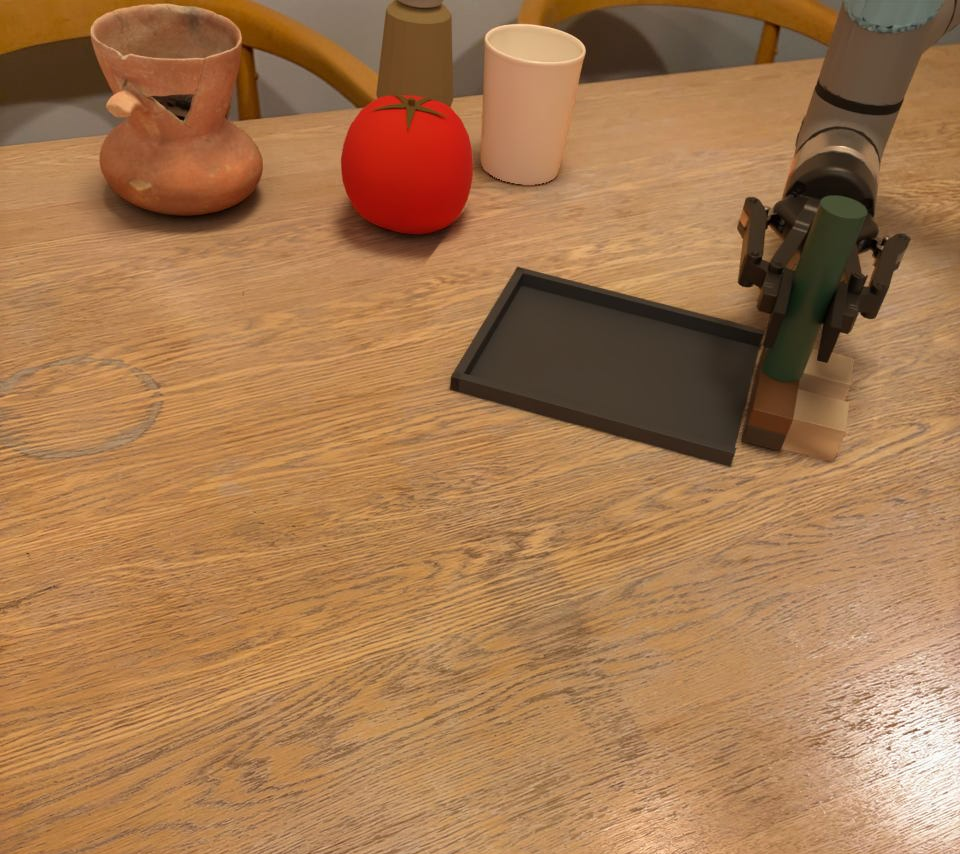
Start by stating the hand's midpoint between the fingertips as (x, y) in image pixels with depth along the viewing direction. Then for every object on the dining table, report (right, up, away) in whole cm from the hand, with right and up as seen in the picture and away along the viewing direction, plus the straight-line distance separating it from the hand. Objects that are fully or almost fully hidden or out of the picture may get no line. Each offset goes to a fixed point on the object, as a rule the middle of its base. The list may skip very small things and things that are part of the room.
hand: (801, 337), depth 71 cm
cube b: (+3, -6, +9) cm, 11 cm away
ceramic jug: (-50, +21, +26) cm, 60 cm away
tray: (-12, +1, +13) cm, 17 cm away
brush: (+1, -2, +10) cm, 11 cm away
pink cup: (-18, +29, +37) cm, 50 cm away
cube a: (+5, -2, +13) cm, 14 cm away
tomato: (-29, +19, +27) cm, 44 cm away
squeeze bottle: (-29, +34, +40) cm, 60 cm away
